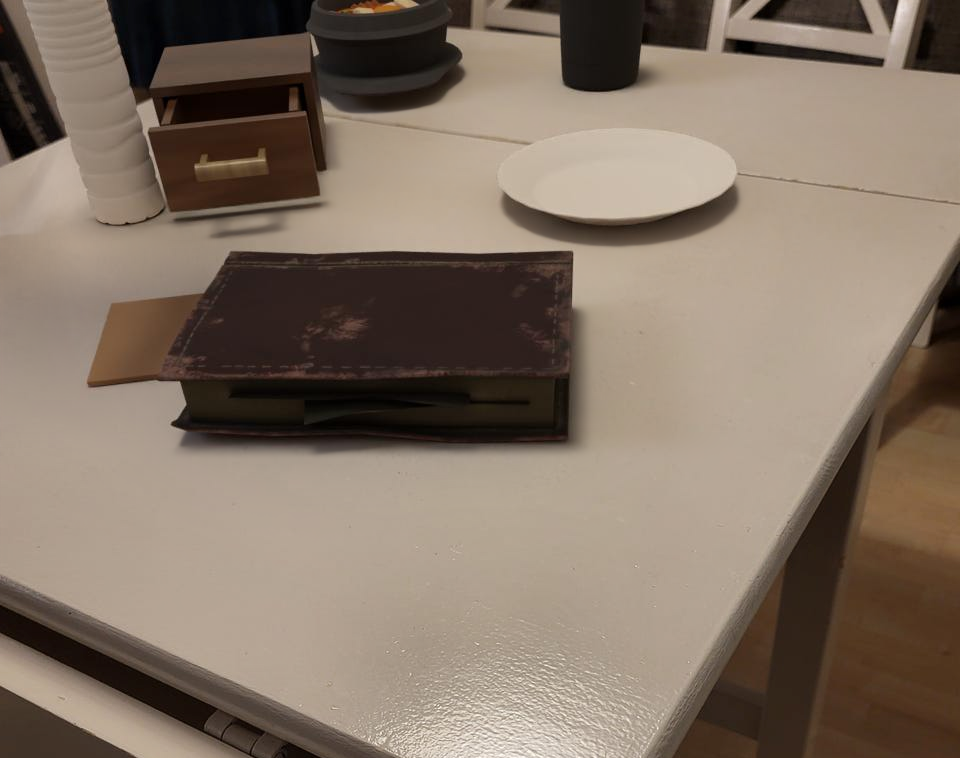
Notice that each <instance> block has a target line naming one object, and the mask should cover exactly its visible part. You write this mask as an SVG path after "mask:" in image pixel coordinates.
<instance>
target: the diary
mask: <svg viewBox="0 0 960 758" xmlns="http://www.w3.org/2000/svg"><path fill="white" fill-rule="evenodd" d="M573 283H574V251H573V250H541V251H512V252H510V251H509V252H508V251H507V252H489V253H488V252H485V253H484V252H483V253H482V252H481V253H480V252H479V253H474V252H447V251H444V252H443V251H441V252H440V251H439V252H438V251H412V250H411V251H410V250H409V251H408V250H402V251H401V250H387V251H386V250H385V251H384V250H383V251H382V250H381V251H356V252H355V251H354V252H352V251H351V252H330V253H329V252H328V253H325V252H324V253H306V252H305V253H304V252H303V253H302V252H279V251H277V252H275V251H252V250H230V252H229V253H228V254H227V256H226V258H225V260H224V261H223V264H222V265H221V266H220V268H219V270H218V272H217V273H216V275H215V276H214V278H213V279H212V281H211V282H210V283H209V285H208V286H207V287H206V289H205V290H204V292H202V293H203V295H202V296H201V298H200V299H199V300H198V302H197V303H196V305H195V307H194V308H193V310H192V311H191V313H190V315H189V316H188V318H187V320H186V321H185V323H184V325H183V326H182V328H181V330H180V331H179V333H178V335H177V337H176V339H175V341H174V343H173V344H172V346H171V348H170V350H169V352H168V354H167V356H166V358H165V360H164V361H163V363H162V365H161V368H160V371H159V374H158V377H157V379H156V380H157V381H158V382H170V383H171V382H173V383H174V382H179V383H180V387H181V390H182V394H183V397H184V400H185V406H184V407H183V408H182V411H181V412H180V414H179V416H178V417H177V418H176V419H174V420H172V421H171V423H170V426H172V427H174V428H176V429H179V430H182V431H185V432H188V433H189V432H190V433H191V432H192V433H205V434H206V433H208V434H209V433H210V434H227V435H243V436H245V435H247V436H265V437H276V436H277V437H280V436H281V437H284V436H318V435H319V436H320V435H321V436H322V435H326V436H327V435H360V434H361V435H369V436H370V435H372V436H383V437H391V438H392V437H394V438H403V439H404V438H405V439H415V440H427V441H438V442H449V443H458V444H459V443H460V444H461V443H493V442H494V443H496V442H497V443H498V442H529V441H567V440H568V439H569V425H570V424H569V423H570V422H569V420H570V388H571V387H570V385H571V353H572V351H571V350H572V321H573V320H572V318H573V288H574V287H573V285H574V284H573Z"/></svg>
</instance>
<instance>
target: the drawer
mask: <svg viewBox="0 0 960 758" xmlns="http://www.w3.org/2000/svg"><path fill="white" fill-rule="evenodd" d="M147 136H148V139H149V143H150V147H151V150H152V153H153V157H154V161H155V164H156V168H157V172H158V175H159V179H160V182H161V185H162V189H163V192H164V196H165V199H166V203H167V207H168V211H169V213H176V212H178V213H179V212H187V211H196V210H203V209H212V208H213V209H214V208H221V207H230V206H231V207H232V206H240V205H249V204H258V203H268V202H276V201H285V200H293V199H294V200H295V199H303V198H311V197H313V198H314V197H319V196H321V189H320V183H319V177H318V170H317V171H316V165H315V159H314V153H313V147H312V141H311V136H310V130H309V124H308V118H307V112H306V111H304V108H303V102H302V96H301V90H300V84H299V83H296V84H287V85H277V86H268V87H258V88H248V89H239V90H229V91H220V92H210V93H201V94H191V95H181V96H172V97H170V98H169V101H168V104H167V107H166V110H165V114H164V117H163V120H162V123H161V126H159V125H158V126H149V127H148V130H147Z"/></svg>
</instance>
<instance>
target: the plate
mask: <svg viewBox="0 0 960 758" xmlns="http://www.w3.org/2000/svg"><path fill="white" fill-rule="evenodd" d="M738 174H739V172H738V167H737V163H736V161H735V160H734V158H733V157H732V156H731V155H730V154H729V153H728V151H726V150H724V149H723V148H721V147H720V146H717V145H716V144H715V143H713V142H709V141H707V140H705V139H701V138H698V137H695V136H692V135H688V134H683V133H679V132H674V131H669V130H661V129H653V128H651V129H650V128H634V127H633V128H630V127H629V128H627V127H626V128H623V127H615V128H598V129H587V130H581V131H580V130H579V131H574V132H568V133H563V134H559V135H555V136H551V137H548V138H547V137H546V138H544V139H540V140H538V141H536V142H533V143H531V144H527V145H526V146H523V147H521V148H520V149H518V150H517V151H515V152H513V153H511V154H510V155H508V157H507V158H506V159H505V160H504V161H503V162H502V163H501V164H500V165H499V168H498V172H497V174H496V175H497V176H496V180H497V181H498V185H499V187H500V189H501V191H503V192H504V193H505V194H506V195H507V196H508V197H509V198H510V199H511V200H514V201H516V202H518V203H520V204H522V205H524V206H526V207H527V208H530V209H534V210H536V211H541V212H544V213H547V214H549V215H552V216H554V217H557V218H560V219H563V220H567V221H571V222H573V223H576V224H577V223H578V224H584V225H592V226H605V227H606V226H607V227H608V226H609V227H616V226H617V227H619V226H633V225H639V224H644V223H645V224H646V223H652V222H655V221H658V220H662V219H665V218H668V217H670V216H673V215H675V214H678V213H680V212H684V211H687V210H689V209H694V208H697V207H700V206H702V205H704V204H707V203H709V202H711V201H713V200H714V199H717V198H719V197H720V196H722V195H723V194H724V193H725V192H726V191H728V190H729V189H730V188H731V187H733V185H734V183H735V181H736V178H737V177H738Z"/></svg>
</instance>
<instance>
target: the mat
mask: <svg viewBox="0 0 960 758" xmlns="http://www.w3.org/2000/svg"><path fill="white" fill-rule="evenodd" d="M203 293H204V292H200V293H191V294H182V295H173V296H165V297H156V298H147V299H139V300H130V301H121V302H112V303H110V306H109V309H108V313H107V316H106V318H105V322H104V326H103V329H102V332H101V336H100V337H99V342H98V344H97V345H98V346H97V348H96V352H95V354H94V358H93V360H92V364H91V366H90V367H91V368H90V370H89V374H88V378H87V381H86V384H87V386H88V388H90V387H92V388H93V387H100V386H107V385H116V384H123V383H125V384H126V383H133V382H140V381H141V382H142V381H149V380H157V377H158V374H159V371H160V368H161V365H162V363H163V361H164V360H165V358H166V356H167V354H168V352H169V350H170V348H171V346H172V344H173V343H174V341H175V339H176V337H177V335H178V333H179V331H180V330H181V328H182V326H183V325H184V323H185V321H186V320H187V318H188V316H189V315H190V313H191V311H192V310H193V308H194V307H195V305H196V303H197V302H198V300H199V299H200V298H201V296H202V295H203Z"/></svg>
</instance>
